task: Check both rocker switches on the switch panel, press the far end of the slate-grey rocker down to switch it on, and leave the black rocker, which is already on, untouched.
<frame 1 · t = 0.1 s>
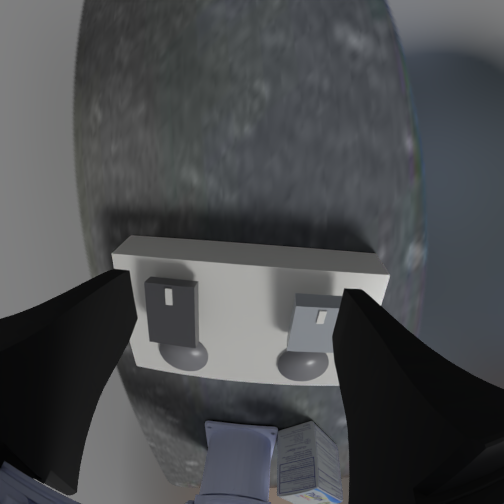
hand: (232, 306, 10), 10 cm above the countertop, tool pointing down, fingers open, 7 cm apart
switch panel: (247, 306, 22), on the countertop
medicine box: (309, 436, 30), on the countertop
grey rocker: (316, 325, 17), point 4 cm above the countertop, hinge at -10.0°
black rocker: (172, 313, 17), point 4 cm above the countertop, hinge at 10.0°
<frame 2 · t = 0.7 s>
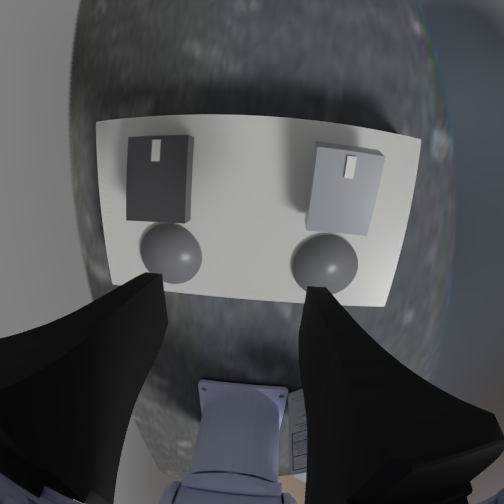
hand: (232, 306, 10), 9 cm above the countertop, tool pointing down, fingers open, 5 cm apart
switch panel: (253, 200, 18), on the countertop
medicine box: (325, 402, 26), on the countertop
grey rocker: (343, 190, 13), point 4 cm above the countertop, hinge at -10.0°
black rocker: (158, 178, 13), point 4 cm above the countertop, hinge at 10.0°
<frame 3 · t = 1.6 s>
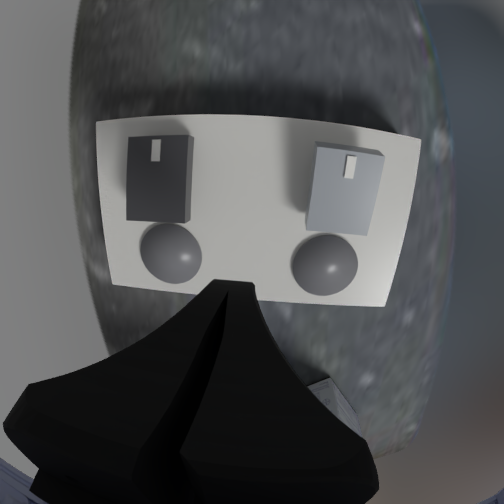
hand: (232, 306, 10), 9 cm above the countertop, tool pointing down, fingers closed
switch panel: (253, 200, 18), on the countertop
medicine box: (325, 402, 26), on the countertop
grey rocker: (343, 190, 13), point 4 cm above the countertop, hinge at -10.0°
black rocker: (158, 178, 13), point 4 cm above the countertop, hinge at 10.0°
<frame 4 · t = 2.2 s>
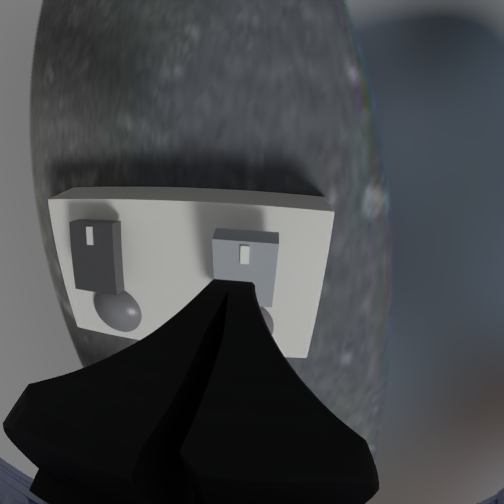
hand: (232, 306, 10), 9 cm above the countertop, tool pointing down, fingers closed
switch panel: (186, 261, 20), on the countertop
grey rocker: (245, 270, 15), point 4 cm above the countertop, hinge at -10.0°
black rocker: (95, 256, 15), point 4 cm above the countertop, hinge at 10.0°
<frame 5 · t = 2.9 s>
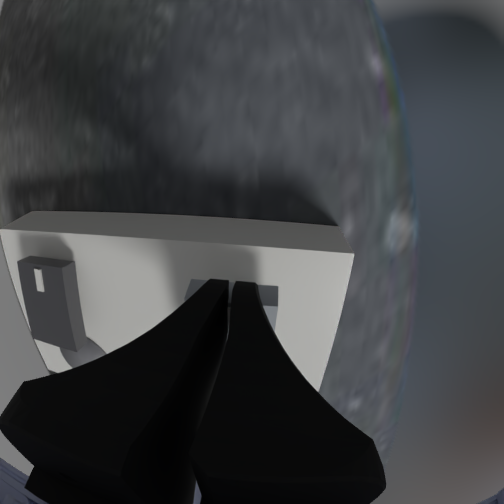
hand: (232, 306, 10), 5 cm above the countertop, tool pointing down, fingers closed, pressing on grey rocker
switch panel: (164, 302, 16), on the countertop
grey rocker: (232, 332, 11), point 4 cm above the countertop, hinge at -9.8°, touching gripper
black rocker: (50, 303, 11), point 4 cm above the countertop, hinge at 10.0°
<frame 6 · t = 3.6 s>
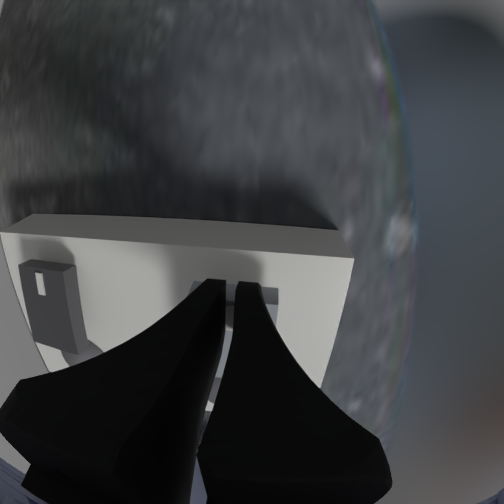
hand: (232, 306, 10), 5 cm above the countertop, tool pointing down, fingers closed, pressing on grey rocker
switch panel: (164, 305, 16), on the countertop
grey rocker: (232, 336, 11), point 4 cm above the countertop, hinge at -2.5°, touching gripper
black rocker: (51, 306, 11), point 4 cm above the countertop, hinge at 10.0°
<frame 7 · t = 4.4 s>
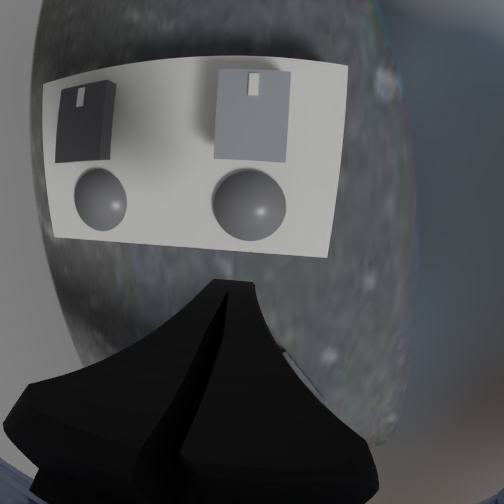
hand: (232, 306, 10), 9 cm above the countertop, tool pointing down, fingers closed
switch panel: (184, 148, 17), on the countertop
medicine box: (286, 382, 25), on the countertop
grey rocker: (252, 114, 12), point 4 cm above the countertop, hinge at 5.3°
black rocker: (83, 122, 12), point 4 cm above the countertop, hinge at 10.0°
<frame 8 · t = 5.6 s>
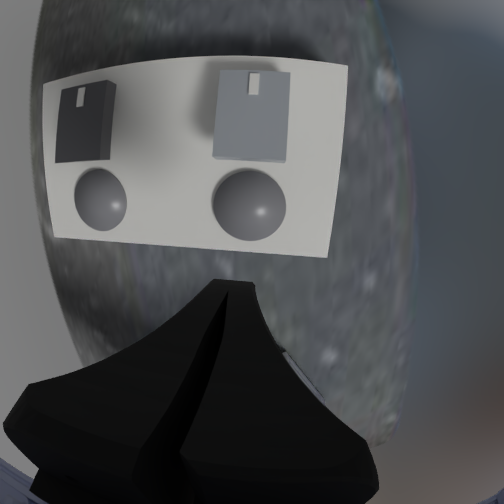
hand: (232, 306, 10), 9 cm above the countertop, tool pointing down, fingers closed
switch panel: (184, 148, 17), on the countertop
medicine box: (286, 382, 25), on the countertop
grey rocker: (252, 114, 12), point 4 cm above the countertop, hinge at 15.0°
black rocker: (83, 122, 12), point 4 cm above the countertop, hinge at 10.0°
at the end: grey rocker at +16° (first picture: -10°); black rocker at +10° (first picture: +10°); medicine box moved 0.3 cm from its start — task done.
